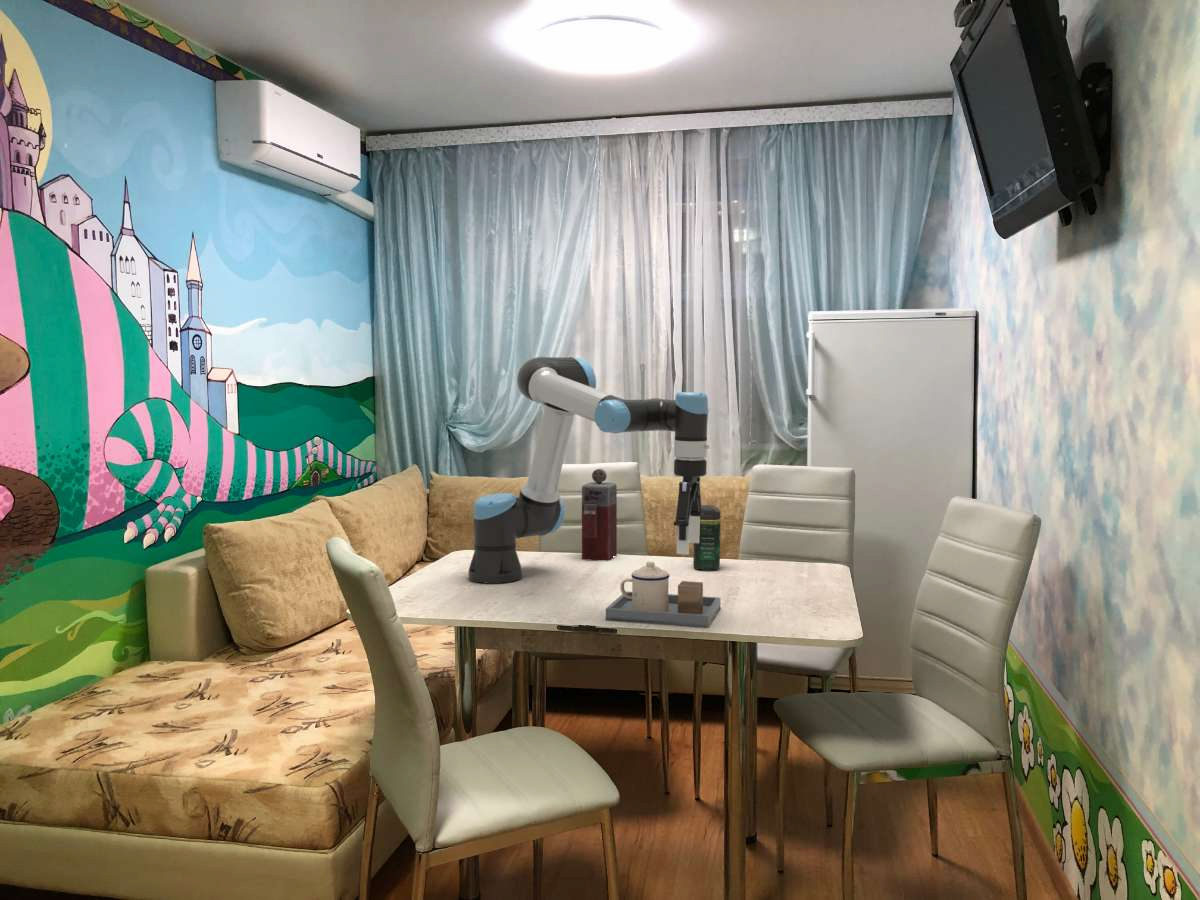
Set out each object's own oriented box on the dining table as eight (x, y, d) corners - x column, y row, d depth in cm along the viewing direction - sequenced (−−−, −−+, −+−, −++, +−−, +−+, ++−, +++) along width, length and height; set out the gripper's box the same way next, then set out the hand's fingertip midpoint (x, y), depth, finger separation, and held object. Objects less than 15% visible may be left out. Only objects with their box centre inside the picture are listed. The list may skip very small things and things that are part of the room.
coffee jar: (720, 571, 259) (721, 508, 258) (693, 570, 260) (693, 507, 259) (720, 564, 269) (720, 503, 267) (693, 564, 270) (694, 503, 268)
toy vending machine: (579, 560, 275) (579, 470, 273) (590, 554, 286) (589, 467, 284) (607, 562, 272) (607, 471, 270) (616, 555, 283) (616, 468, 281)
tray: (605, 619, 207) (605, 608, 207) (625, 601, 224) (625, 591, 224) (708, 627, 200) (708, 616, 200) (720, 608, 217) (720, 597, 217)
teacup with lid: (673, 607, 216) (673, 559, 215) (663, 616, 207) (663, 567, 206) (626, 603, 220) (626, 556, 219) (614, 612, 211) (614, 563, 210)
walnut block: (698, 616, 207) (699, 586, 207) (677, 614, 209) (677, 585, 208) (702, 611, 212) (702, 582, 212) (682, 609, 214) (682, 580, 213)
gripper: (696, 464, 195) (694, 560, 197) (714, 454, 218) (712, 539, 220) (663, 463, 197) (661, 557, 199) (684, 452, 221) (682, 537, 223)
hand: (688, 548), depth 210 cm, fingers open, 13 cm apart
